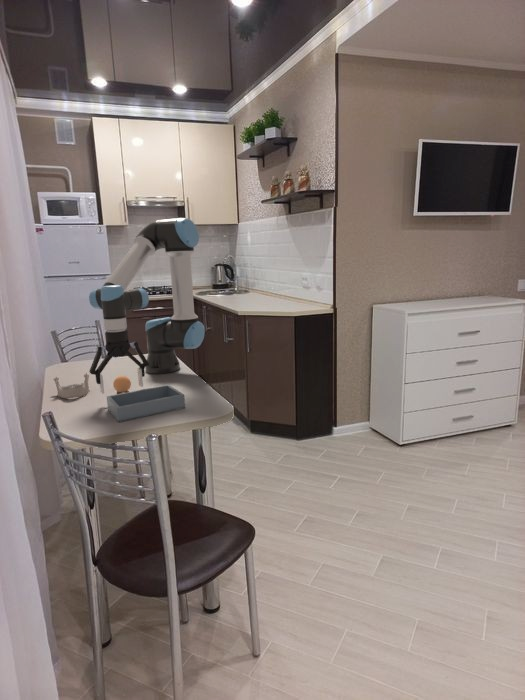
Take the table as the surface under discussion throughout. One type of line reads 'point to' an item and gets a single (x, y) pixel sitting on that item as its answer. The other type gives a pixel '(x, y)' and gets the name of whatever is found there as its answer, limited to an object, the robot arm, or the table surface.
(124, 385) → the ball
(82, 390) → the anatomical model
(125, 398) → the tray
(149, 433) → the table surface
